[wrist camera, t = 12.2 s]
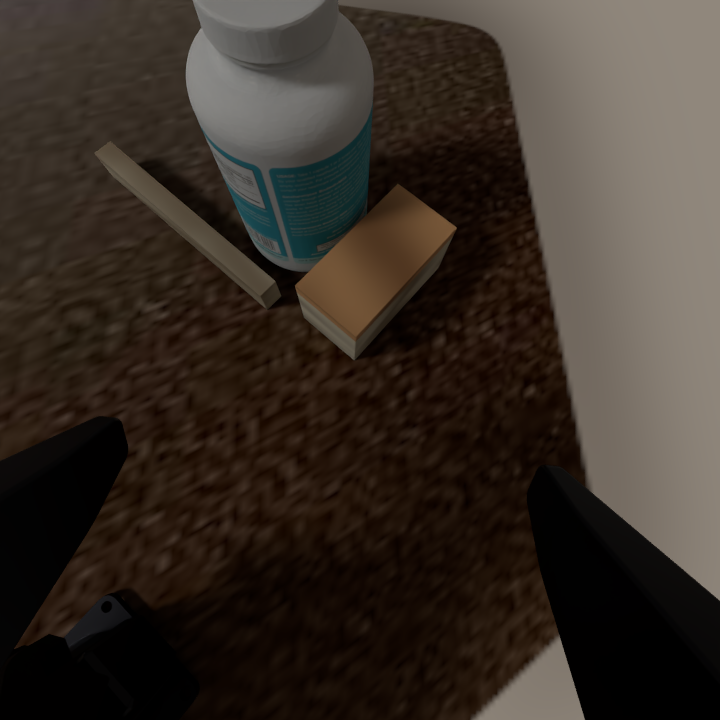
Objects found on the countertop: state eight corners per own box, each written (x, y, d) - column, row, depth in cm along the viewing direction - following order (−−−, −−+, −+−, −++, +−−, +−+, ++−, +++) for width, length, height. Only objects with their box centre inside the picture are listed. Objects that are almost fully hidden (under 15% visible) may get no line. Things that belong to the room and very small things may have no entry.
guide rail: (267, 309, 24) (260, 296, 22) (113, 176, 26) (94, 153, 24) (281, 296, 24) (275, 281, 22) (127, 165, 26) (109, 141, 24)
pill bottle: (372, 183, 26) (395, -94, 13) (357, 284, 24) (369, 78, 11) (260, 168, 26) (174, -122, 13) (237, 268, 24) (112, 45, 11)
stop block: (354, 360, 23) (355, 337, 19) (304, 317, 24) (294, 285, 19) (438, 268, 25) (457, 227, 21) (389, 230, 25) (398, 183, 21)
